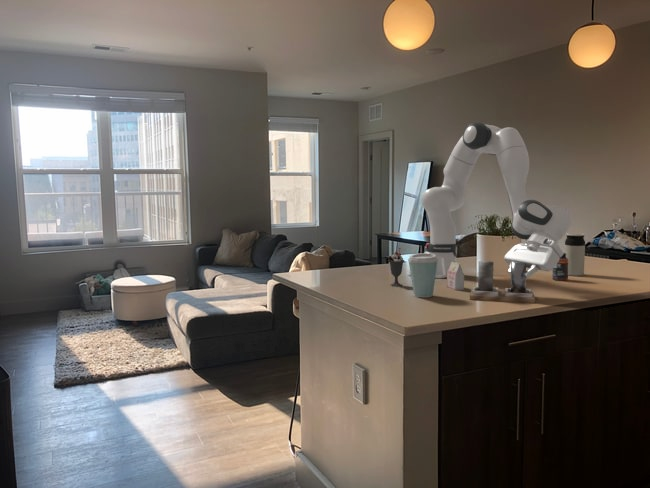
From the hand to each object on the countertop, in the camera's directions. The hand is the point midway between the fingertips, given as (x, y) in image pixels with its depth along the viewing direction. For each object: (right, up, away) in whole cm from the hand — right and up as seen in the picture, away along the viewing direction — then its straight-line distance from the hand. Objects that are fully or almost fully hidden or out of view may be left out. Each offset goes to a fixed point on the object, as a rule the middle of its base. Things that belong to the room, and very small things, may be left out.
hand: (517, 275), depth 181 cm
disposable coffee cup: (-31, -8, +8) cm, 33 cm away
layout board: (-5, -8, +3) cm, 10 cm away
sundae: (-38, -6, +29) cm, 48 cm away
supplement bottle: (+31, -4, +37) cm, 49 cm away
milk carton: (-16, -7, +21) cm, 28 cm away
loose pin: (+1, -7, +1) cm, 7 cm away
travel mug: (+43, -3, +49) cm, 65 cm away
